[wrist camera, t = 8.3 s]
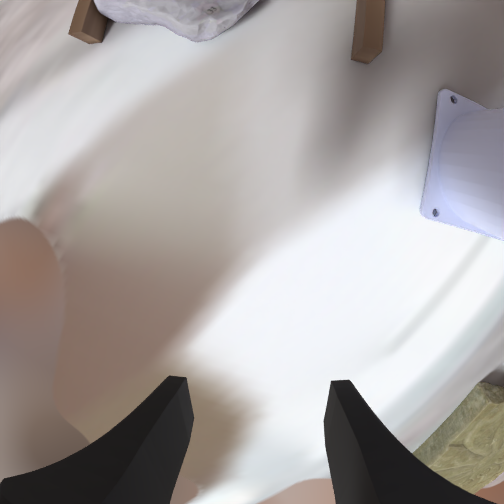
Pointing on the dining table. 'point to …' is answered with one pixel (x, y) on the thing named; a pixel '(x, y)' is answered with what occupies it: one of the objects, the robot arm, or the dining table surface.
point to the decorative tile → (469, 440)
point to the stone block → (179, 14)
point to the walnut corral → (364, 41)
